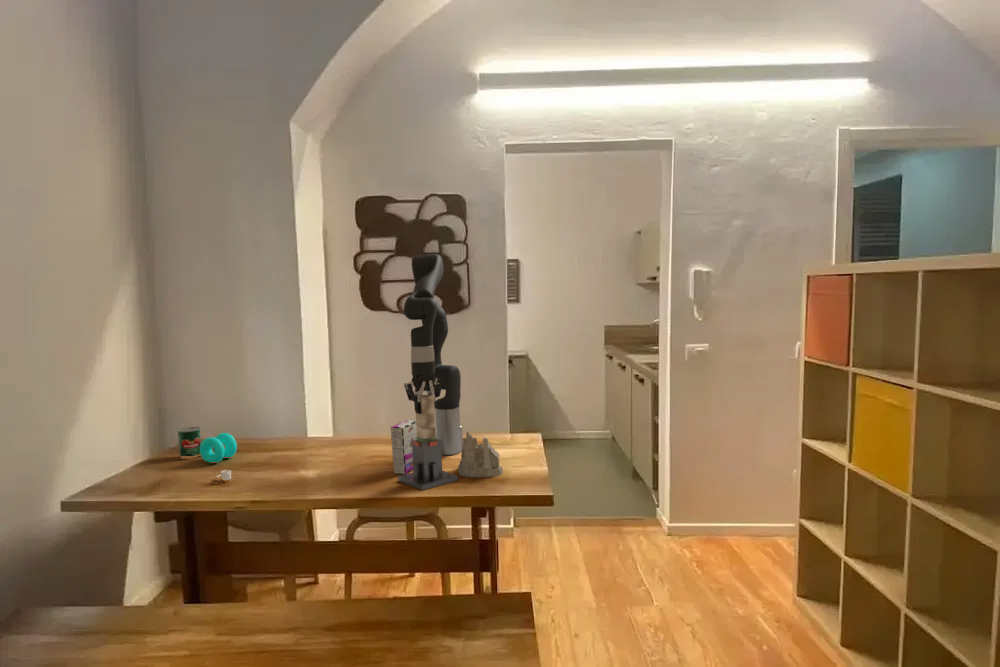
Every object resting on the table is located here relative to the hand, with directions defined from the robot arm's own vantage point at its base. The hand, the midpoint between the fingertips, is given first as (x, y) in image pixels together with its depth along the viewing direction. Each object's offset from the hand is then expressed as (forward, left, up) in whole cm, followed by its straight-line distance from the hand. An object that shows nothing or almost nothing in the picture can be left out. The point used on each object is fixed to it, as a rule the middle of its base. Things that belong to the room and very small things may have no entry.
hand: (425, 411), depth 212 cm
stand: (0, 0, -23) cm, 23 cm away
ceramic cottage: (-19, +4, -23) cm, 30 cm away
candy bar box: (-2, -16, -23) cm, 28 cm away
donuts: (+41, -79, -23) cm, 92 cm away
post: (0, 0, -15) cm, 15 cm away
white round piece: (+46, -51, -23) cm, 72 cm away
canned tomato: (+47, -94, -23) cm, 108 cm away
